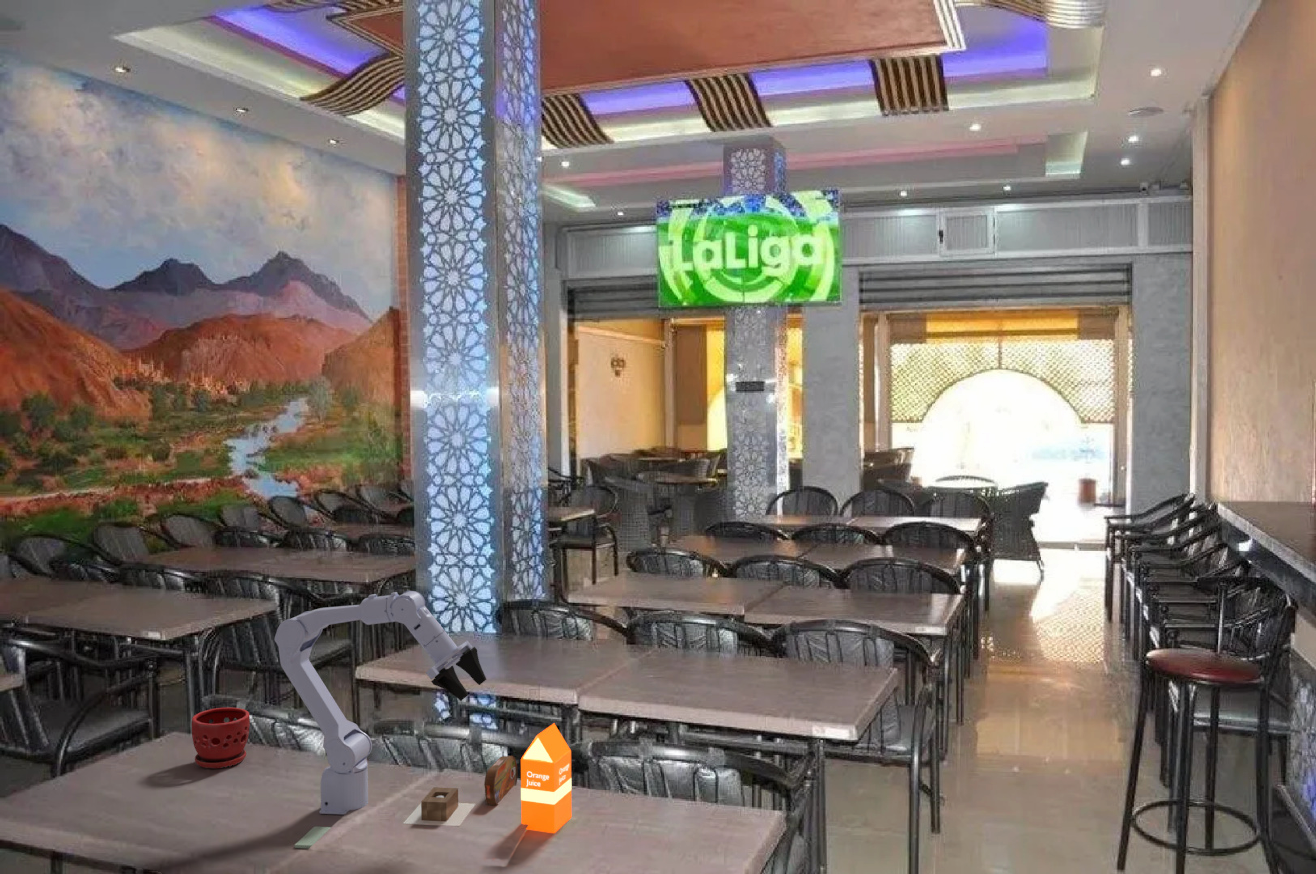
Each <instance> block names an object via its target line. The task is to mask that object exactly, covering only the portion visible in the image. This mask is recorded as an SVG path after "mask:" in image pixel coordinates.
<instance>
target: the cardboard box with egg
mask: <svg viewBox="0 0 1316 874" xmlns="http://www.w3.org/2000/svg"><path fill="white" fill-rule="evenodd" d="M440 795H442V796H444V798H439V797H436V796H440ZM420 803H421V820H425V821H447V820H448V819H449V818H450V817H451V815H452V814H453V813H454V811H455V810H456V809H457V808H458V803H459V788H458V787H456V788H455V787H438V786H436V787H435V786H434V787H432V789H431V790H430V791H429V792H428V793H427V794H426V795H425V796H424V798H423V799H422V800H421V802H420Z"/></svg>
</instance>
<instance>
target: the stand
mask: <svg viewBox="0 0 1316 874" xmlns="http://www.w3.org/2000/svg"><path fill="white" fill-rule="evenodd" d="M436 797H439V798H444V796H442V795H440V796H436ZM475 806H476V803H471V802H470V803H467V802H466V803H464V802H458V808H457V809H456V810H455V811H454V813H453V814H452V815H451V817H450V818H449V819H448V820H447V821H425V820H421V802H420V804H419V805H418V806H417V807H416V808H415V809H414V810H413V811H412V813H411V814H410V815H409V816H408V817H407V818H406V819H405V821H404V822H402V824H403V825H404V824H405V825H421V826H423V825H426V826H445V827H446V826H447V827H449V826H450V827H460V826H461V824H462V823H463V822H464V821H465V819H466V818H467V816H468V815H469V814H470V813H471V811H472V810H473V808H474V807H475Z"/></svg>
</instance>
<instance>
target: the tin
mask: <svg viewBox="0 0 1316 874" xmlns="http://www.w3.org/2000/svg"><path fill="white" fill-rule="evenodd" d="M517 783H518V764H517V760H516V757H515V756H514V755H504V756H500V757H499V758H498V759H497V760H496V761H495V762H494V763H493V764H492V765H491V766H490V767H489V768H488V769H487V771H486V773H485V776H484V783H483V784H484V797H485V802H486V804H487V805H490V806H491V805H493V806H498V805H499V803H500V802H501V801H502V799H504V798H505V796H507V794H508V793H509V792H510V791H511V789H512V788H513V787H515V786H517Z"/></svg>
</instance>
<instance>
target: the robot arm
mask: <svg viewBox="0 0 1316 874" xmlns="http://www.w3.org/2000/svg"><path fill="white" fill-rule="evenodd" d="M354 621H361V622H362V623H364V624H365V625H367V626H370V625H376V624H386V623H394V622H396V623H400V624H403V625H404V626H405V627H406V628H407V630H408V631H409V633H410V634H411V635H412V636H413V637H414V639H415V640H416V642H418V644H419V645H420V646H421V647H422V648H423V650H424V651H425V652H426V654H427V655H428V656H429V658H430V659H431V660H432V661H433V663H434V664H435V665H433V666H432V667H430V669H428V670H427V671H426V672H425V674H426V675H427V676H428V678H429V679H430V680H431V681H430V682H431V683H432V685H433V686H435V687H436V686H437V687H439V688H441V689H443V690H445V691H447V692H448V693H449V694H451V695H452V696H454V697H455V698H457V700H459V701H460V702H461V701H463V700H464V699H466V697H468V696H469V693H468V691H467V690H466V687H464V685H463V684H462V683H461V681H460V680H459V677H458V676H457V673H456V671H455V667H454V665H452V664H453V663H455V662H456V661H457V660H458V661H457V662H456V663H455V665H456V666H458V667H459V668H460V669H461V670H463V671H464V672H466V673H467V674H468V675H469V676H470V677H471V678H472V680H473V681H474V682H475V683H476V684H477V685H479V686H480V685H482V684H483V683H484V682H486V680H487V677H486V675H485V673H484V671H483V668H482V666H481V664H480V660H479V655H478V649H477V648H476V646H472V644H471V643H470V641H469V640H466V641H464V642H463V643H461V644H460V645H458V646H457V644H456V643H455V641H454V640H453V639H452V638H451V636H449V634H448V633H447V631H445V629H444V627H442V625H441V624H440V623H439V622H438V621H437V619H436V617H434V616H433V614H432V613H431V612H430V610H429V609H428V608H427V607H426V600H425V597H424V596H423V595H422V594H421V593H420V592H418V591H415V590H406V591H404V592H403V593H402V594H400V595H399V594H398V592H397V591H393V592H391V593H390V594H388V595H387V594H386V595H381V596H378V595H377V594H376V593H374V594H369V595H368V597H366V598H364V599H363V600H362V601H361V603H359V604H354V605H352V604H351V605H341V606H328V607H327V606H326V607H320V608H317V609H313V610H308V611H304V612H302V613H300V614H298V615H296V616H294V617H292V618H288V619H285V620H284V621H282V622H280V624H279V626H278V627H277V630H276V631H275V632H276V633H275V636H274V639H273V640H274V641H275V644H276V645H277V647H278V648H277V649H278V653H279V654H278V655H279V662H280V666H281V668H282V670H283V671H284V673H285V675H286V676H287V678H288V679H289V681H290V682H291V685H293V687H294V690H296V692H297V694H298V696H299V697H300V698H301V700H302V702H303V703H304V705H305V706H306V708H307V709H308V711H309V713H310V715H311V716H312V718H313V719H314V721H315V722H316V724H317V726H318V727H319V728H320V730H321V731H322V732H321V733H323V736H324V737H323V743H322V747H323V749H324V751H325V753H326V758H327V763H328V765H329V766H327V767H325V768H324V770H323V771H322V774H321V776H320V777H321V778H320V810H319V814H322V815H323V814H324V815H326V814H327V815H342V816H343V815H346V814H347V813H348V812H349V811H354V810H355V811H356V810H359V809H362V808H364V807H366V806H367V805H368V804H369V782H368V781H369V777H368V775H369V773H368V772H369V771H368V756H369V755H370V753H371V752H372V749H373V743H372V739H371V737H370V736H369V735H368V734H367V733H365V732H364V731H362V730H361V729H360V727H359V726H358V724H356V723H355V722H353V721H350V720H348V719H347V718H346V717H345V715H344V713H343V711H342V710H341V709H340V707H339V705H338V704H337V702H336V701H335V699H334V698H333V696H332V694H331V692H330V691H329V689H328V688H327V686H326V685H325V683H324V682H323V680H322V679H321V676H320V675H319V674H318V672H317V670H316V669H315V668H314V666H313V664H312V663H311V661H310V656H311V654H312V653H311V652H312V650H313V646H314V645H315V643H316V642H317V640H318V638H319V637H320V636H321V635H322V632H323V629H326V628H328V626H329V625H335V624H336V625H337V624H342V623H349V622H354ZM450 660H451V661H450Z"/></svg>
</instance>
